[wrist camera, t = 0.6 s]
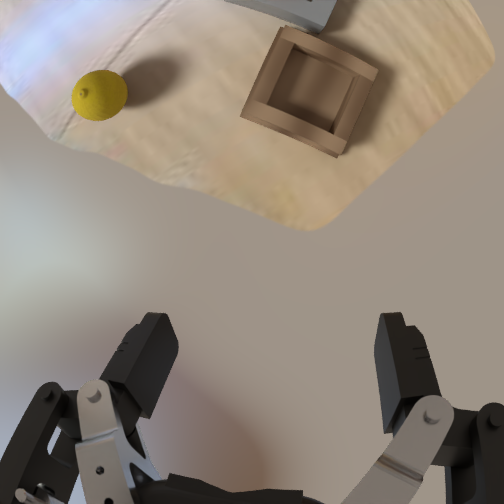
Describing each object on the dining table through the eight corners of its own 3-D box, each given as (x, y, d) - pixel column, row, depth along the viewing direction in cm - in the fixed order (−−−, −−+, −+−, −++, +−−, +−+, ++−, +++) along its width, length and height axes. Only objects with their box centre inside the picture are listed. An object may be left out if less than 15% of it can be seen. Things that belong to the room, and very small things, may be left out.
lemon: (89, 94, 28) (50, 92, 21) (124, 65, 27) (90, 54, 20) (109, 129, 30) (73, 134, 23) (146, 100, 29) (116, 96, 22)
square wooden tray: (240, 116, 30) (238, 116, 26) (279, 30, 26) (282, 19, 22) (333, 156, 32) (343, 161, 28) (370, 73, 27) (384, 68, 24)
